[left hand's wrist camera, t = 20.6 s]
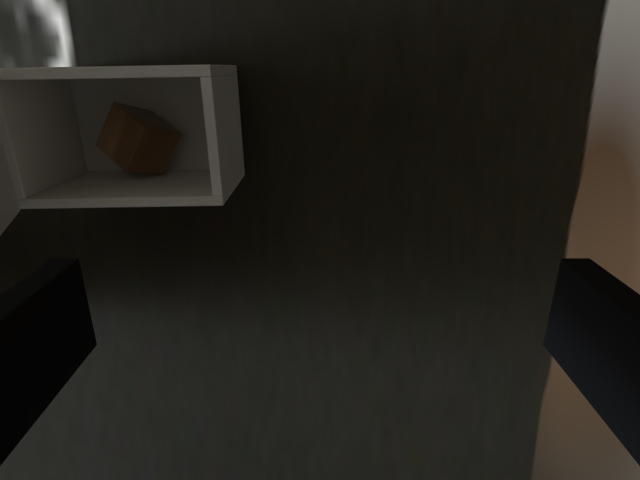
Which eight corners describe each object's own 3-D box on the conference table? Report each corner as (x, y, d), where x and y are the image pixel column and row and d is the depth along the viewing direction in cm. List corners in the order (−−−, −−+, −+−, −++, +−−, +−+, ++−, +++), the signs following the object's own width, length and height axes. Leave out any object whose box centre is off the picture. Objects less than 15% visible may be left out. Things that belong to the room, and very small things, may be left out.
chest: (236, 65, 40) (210, 64, 30) (245, 175, 43) (223, 206, 33) (62, 68, 40) (-20, 68, 30) (84, 177, 43) (17, 209, 34)
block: (144, 126, 35) (112, 101, 36) (125, 172, 36) (94, 145, 38) (182, 133, 39) (151, 110, 40) (163, 175, 40) (134, 150, 41)
